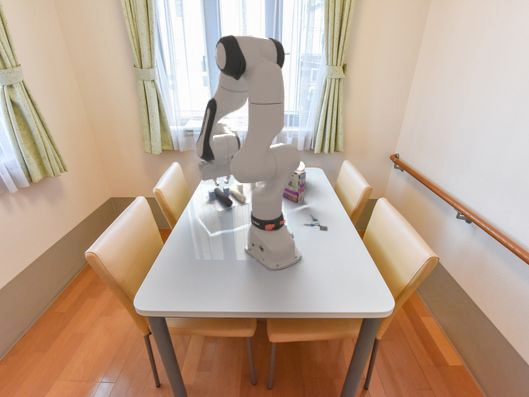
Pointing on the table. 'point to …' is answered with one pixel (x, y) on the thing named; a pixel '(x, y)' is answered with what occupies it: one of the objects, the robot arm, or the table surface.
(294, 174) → the candy bar box
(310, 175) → the table surface
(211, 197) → the rod display rack
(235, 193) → the rod
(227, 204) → the dark gray rod
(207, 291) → the table surface
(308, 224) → the key chain
